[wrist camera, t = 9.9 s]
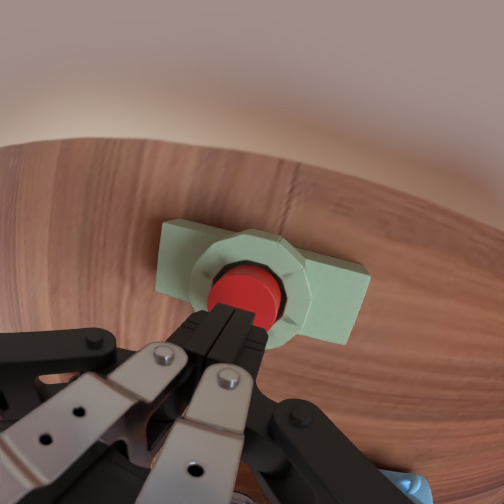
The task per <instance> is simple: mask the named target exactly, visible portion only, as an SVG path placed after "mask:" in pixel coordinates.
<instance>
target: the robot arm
mask: <svg viewBox="0 0 504 504" xmlns="http://www.w3.org/2000/svg"><path fill="white" fill-rule="evenodd" d="M255 316H256V313H254V312H251V311H247V310H244V309H240V308H236V307H233V306H230V305H226V304H223V303H220V302H218V303H217V304H216V305H215V306H214V308H213V309H212V310H211V311H210V312H207V311H204V310H200V311H197V312H195V313H192V314H191V315H190V316H189V317H188V318H187V319H186V321H184V322H183V323H182V324H181V326H180V327H179V328H178V329H177V330H176V331H175V332H174V333H173V334H172V335H171V336H170V337H169V338H168V339H167V340H166V341H165V342H152V343H149V344H147V345H145V346H144V347H143V348H141V349H140V350H139V351H138V352H137V351H131V350H126V349H122V348H117V347H116V339H115V337H114V335H113V334H112V333H110V332H109V331H107V330H104V329H101V328H81V329H69V330H55V331H40V332H20V333H0V504H230V503H231V499H232V495H233V490H234V486H235V481H236V477H237V472H238V468H239V463H240V460H241V461H243V462H245V463H247V464H248V465H250V469H251V472H252V474H253V476H254V477H255V479H256V481H257V482H258V484H259V485H260V487H261V488H262V490H263V491H264V493H265V494H266V496H267V497H268V499H269V500H270V502H271V503H272V504H415V503H414V502H413V501H412V500H410V499H409V498H408V497H407V496H406V495H405V494H404V493H403V492H402V491H401V490H400V489H398V488H397V487H396V486H395V485H394V484H393V483H392V482H391V481H390V480H389V479H388V478H387V477H386V476H385V475H384V474H383V473H382V472H381V471H380V470H379V469H377V468H376V467H375V466H374V465H373V464H372V463H371V462H370V461H369V460H368V459H367V458H366V457H365V456H364V455H363V454H362V453H361V452H360V451H359V450H358V449H357V448H356V446H355V445H354V444H353V443H352V442H351V441H350V440H349V439H348V438H347V437H346V436H345V435H344V434H343V433H342V432H341V431H340V430H339V429H338V428H337V427H336V426H335V425H334V424H333V422H332V421H331V420H330V419H329V418H328V417H327V416H326V415H325V414H324V413H323V412H322V411H321V410H320V409H319V408H318V407H317V406H316V405H314V404H312V403H311V402H308V401H305V400H301V399H287V400H283V401H281V402H279V403H277V402H275V401H273V400H271V399H269V398H267V397H266V396H265V395H263V394H262V393H261V392H260V390H259V389H258V387H257V385H256V377H257V374H258V371H259V368H260V365H261V361H262V358H263V355H264V351H265V348H266V344H267V341H268V338H269V336H268V334H267V331H266V329H265V328H261V327H258V326H254V325H253V324H254V320H255ZM70 372H78V376H79V378H78V379H76V380H75V381H73V382H68V383H59V384H45V383H43V382H41V381H40V379H39V377H38V376H40V375H49V374H60V373H70ZM187 406H188V408H187V410H186V412H185V414H184V416H183V417H182V414H183V412H184V411H185V409H186V407H187ZM161 447H162V449H161ZM160 449H161V451H160V453H159V455H158V457H157V459H156V461H155V463H154V465H153V467H152V469H150V464H151V462H152V460H153V458H154V457H155V455H156V454H157V453H158V451H159V450H160Z"/></svg>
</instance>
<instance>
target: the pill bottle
mask: <svg viewBox="0 0 504 504" xmlns="http://www.w3.org/2000/svg"><path fill="white" fill-rule="evenodd" d="M230 504H253V501H252V500H251V499H250V498H249V497H247V496H245V495H243V494H240V493H236V492H233V495H232V499H231V503H230Z"/></svg>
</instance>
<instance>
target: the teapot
mask: <svg viewBox="0 0 504 504" xmlns="http://www.w3.org/2000/svg"><path fill="white" fill-rule="evenodd" d="M379 470H380V471H381V472H382V473H383V474H384V475H385V476H386V477H387V478H388V479H389V480H390V481H391V482H392V483H393V484H394V485H395V486H396V487H397V488H398V489H400V490H401V491H402V492H403V493H404V494H405V495H406V496H407V497H408V498H409V499H410V500H412V501H413V502H414V503H415V504H433V501H432V494H431V489H430V486H429V484H428V483H427V481H426V480H425V478H424V477H423V476H420V475H417V474H416V473H401V472H394V471H388V470H381V469H379Z"/></svg>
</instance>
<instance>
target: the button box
mask: <svg viewBox="0 0 504 504" xmlns="http://www.w3.org/2000/svg"><path fill="white" fill-rule="evenodd" d="M247 264H248V265H255V266H258V267H261V268H263V269H265V270H266V271H268V272H269V273H270V274H271V275H272V276H273V277H274V278H275V280H276V281H277V283H278V285H279V288H280V292H281V301H280V306H279V309H278V313H277V317H276V320H275V322H274V324H273V326H272V327H271V329H270V330H269V331H268V332H267V334H268V336H269V338H268V341H267V344H266V348H265V349H270V348H276V347H279V346H280V347H281V346H282V345H283V344H284V343H286V342H287V341H288V340H289V339H291V338H292V337H293V336H294V335H296V334H300V335H304V336H308V337H312V338H316V339H320V340H325V341H329V342H333V343H338V344H342V345H345V344H346V342H347V340H348V337H349V335H350V332H351V330H352V327H353V325H354V322H355V320H356V317H357V315H358V312H359V309H360V307H361V304H362V301H363V299H364V296H365V293H366V290H367V287H368V284H369V281H370V278H371V275H370V274H369V272H368V271H367V269H366V268H365V266H364V265H360V264H357V263H353V262H349V261H346V260H342V259H338V258H334V257H331V256H327V255H323V254H319V253H315V252H312V251H308V250H304V249H300V248H296V247H293V246H292V245H291V244H290V243H289V242H288V241H287V240H285V239H284V238H283V237H281V236H279V235H276V234H272V233H268V232H264V231H260V230H256V229H248V230H244V231H241V232H233V231H229V230H225V229H221V228H217V227H213V226H209V225H205V224H201V223H197V222H193V221H189V220H185V219H180V218H178V219H174V220H170V221H166V222H163V224H162V231H161V238H160V246H159V254H158V263H157V273H156V283H155V291H157V292H160V293H163V294H166V295H169V296H172V297H175V298H178V299H181V300H183V301H186V302H190V303H191V304H192V306H193V309H194V311H195V312H197V311H200V310H204V311H207V312H208V309H207V299H208V295H209V292H210V290H211V288H212V287H213V286H214V284H215V283H216V282H217V281H218V280H219V279H220V278H221V277H222V276H223V275H224V274H225V273H226V272H227V271H229V270H230V269H232V268H234V267H236V266H239V265H247Z"/></svg>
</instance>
